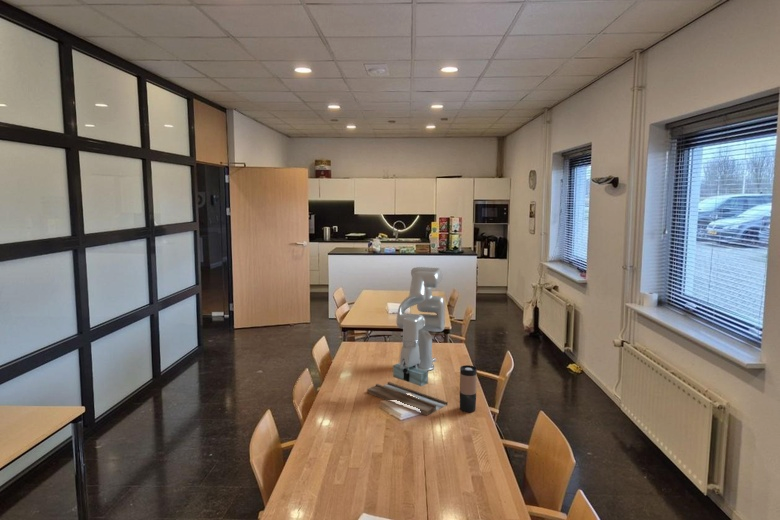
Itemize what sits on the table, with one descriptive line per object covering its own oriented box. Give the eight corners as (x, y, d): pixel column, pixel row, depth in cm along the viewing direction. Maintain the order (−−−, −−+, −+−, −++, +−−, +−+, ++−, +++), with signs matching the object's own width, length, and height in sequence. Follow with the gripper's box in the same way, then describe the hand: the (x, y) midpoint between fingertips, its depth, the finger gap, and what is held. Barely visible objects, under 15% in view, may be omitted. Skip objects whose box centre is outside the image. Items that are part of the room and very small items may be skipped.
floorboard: (388, 383, 253) (388, 378, 253) (447, 404, 228) (447, 399, 227) (367, 392, 241) (367, 387, 241) (426, 415, 216) (426, 409, 216)
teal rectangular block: (399, 374, 243) (399, 362, 243) (427, 383, 231) (427, 371, 231) (393, 376, 240) (393, 365, 239) (421, 386, 228) (421, 374, 227)
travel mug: (477, 407, 224) (478, 366, 222) (473, 414, 217) (474, 371, 215) (462, 404, 227) (462, 364, 225) (457, 411, 221) (458, 369, 218)
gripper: (415, 338, 242) (415, 372, 244) (393, 345, 230) (393, 381, 232) (427, 340, 237) (427, 376, 239) (405, 348, 225) (404, 385, 227)
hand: (410, 378), depth 235 cm, fingers closed on teal rectangular block, 5 cm apart
